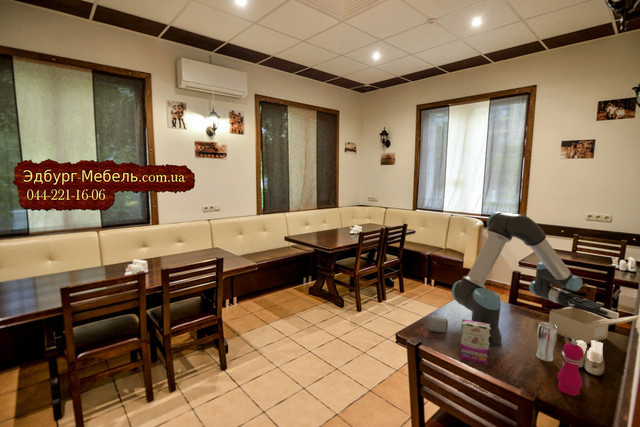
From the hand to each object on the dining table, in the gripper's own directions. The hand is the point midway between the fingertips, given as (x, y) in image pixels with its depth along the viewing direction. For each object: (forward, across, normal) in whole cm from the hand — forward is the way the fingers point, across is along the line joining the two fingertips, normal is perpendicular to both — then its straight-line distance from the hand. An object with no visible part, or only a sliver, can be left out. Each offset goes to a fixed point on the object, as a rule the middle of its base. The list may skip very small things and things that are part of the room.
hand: (617, 316), depth 141 cm
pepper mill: (+11, +50, -16) cm, 53 cm away
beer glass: (-7, +36, -16) cm, 40 cm away
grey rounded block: (-43, +63, -16) cm, 78 cm away
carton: (-15, 0, -16) cm, 22 cm away
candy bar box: (-17, +66, -16) cm, 70 cm away
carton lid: (0, 0, -2) cm, 2 cm away
